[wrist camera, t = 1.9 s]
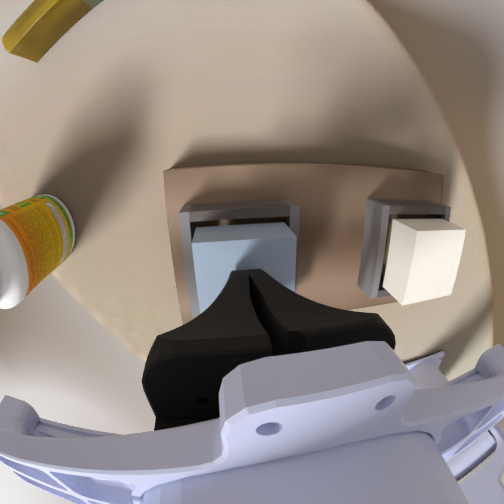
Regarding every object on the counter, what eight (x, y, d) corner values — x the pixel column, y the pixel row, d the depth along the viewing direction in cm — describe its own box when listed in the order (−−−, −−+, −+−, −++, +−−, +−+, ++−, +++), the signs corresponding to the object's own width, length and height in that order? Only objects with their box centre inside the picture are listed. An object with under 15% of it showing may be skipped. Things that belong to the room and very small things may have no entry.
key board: (411, 285, 22) (437, 308, 18) (186, 309, 20) (180, 344, 16) (427, 171, 18) (462, 179, 14) (169, 168, 16) (155, 174, 12)
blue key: (282, 298, 16) (292, 322, 13) (204, 304, 15) (202, 330, 13) (284, 222, 14) (296, 236, 12) (195, 227, 14) (191, 243, 11)
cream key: (430, 278, 17) (450, 294, 14) (382, 286, 16) (402, 305, 14) (442, 218, 15) (466, 229, 13) (392, 219, 15) (416, 231, 12)
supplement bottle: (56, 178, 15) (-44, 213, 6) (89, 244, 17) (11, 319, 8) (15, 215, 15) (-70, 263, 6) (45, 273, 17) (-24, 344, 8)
